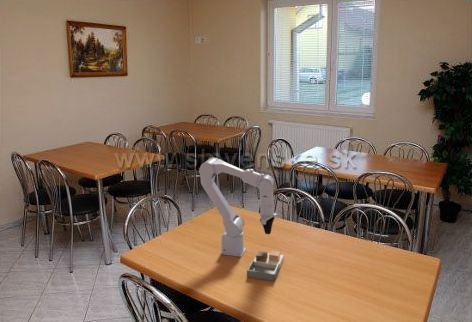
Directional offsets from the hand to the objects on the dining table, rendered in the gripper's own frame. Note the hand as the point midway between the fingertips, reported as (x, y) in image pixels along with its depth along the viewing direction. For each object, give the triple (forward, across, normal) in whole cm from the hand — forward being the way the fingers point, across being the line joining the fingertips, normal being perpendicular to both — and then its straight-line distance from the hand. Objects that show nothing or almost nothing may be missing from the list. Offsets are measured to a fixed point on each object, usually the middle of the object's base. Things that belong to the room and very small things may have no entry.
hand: (267, 233), depth 171 cm
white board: (+10, -6, -1) cm, 12 cm away
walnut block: (+8, -8, +1) cm, 11 cm away
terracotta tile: (+9, -6, -4) cm, 11 cm away
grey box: (+10, -15, -1) cm, 18 cm away
